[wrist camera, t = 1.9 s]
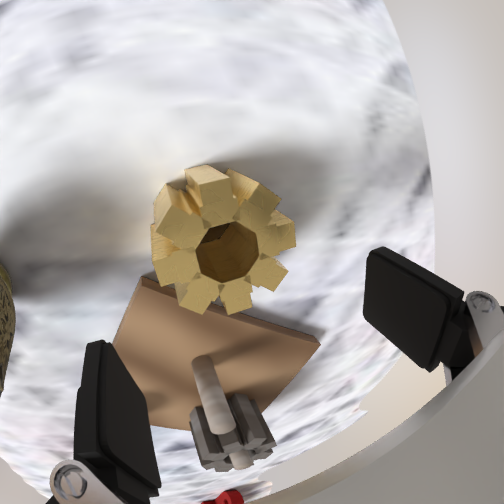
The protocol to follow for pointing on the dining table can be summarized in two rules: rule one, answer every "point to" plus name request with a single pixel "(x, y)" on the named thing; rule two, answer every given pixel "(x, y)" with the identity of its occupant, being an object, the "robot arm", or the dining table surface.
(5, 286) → the cup
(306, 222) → the dining table surface
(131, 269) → the dining table surface
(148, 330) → the gear board
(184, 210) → the brass gear
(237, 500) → the mechanical linkage
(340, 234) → the dining table surface
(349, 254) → the dining table surface
